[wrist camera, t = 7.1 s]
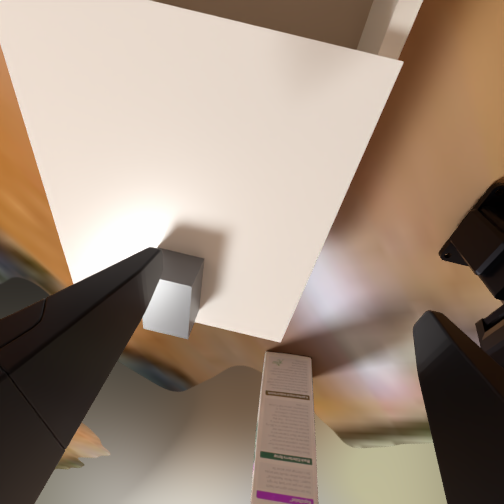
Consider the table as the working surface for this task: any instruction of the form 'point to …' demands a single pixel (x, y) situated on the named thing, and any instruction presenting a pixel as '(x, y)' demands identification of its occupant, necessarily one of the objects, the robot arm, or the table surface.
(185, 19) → the carton lid
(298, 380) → the syrup box
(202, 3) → the carton
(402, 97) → the table surface
